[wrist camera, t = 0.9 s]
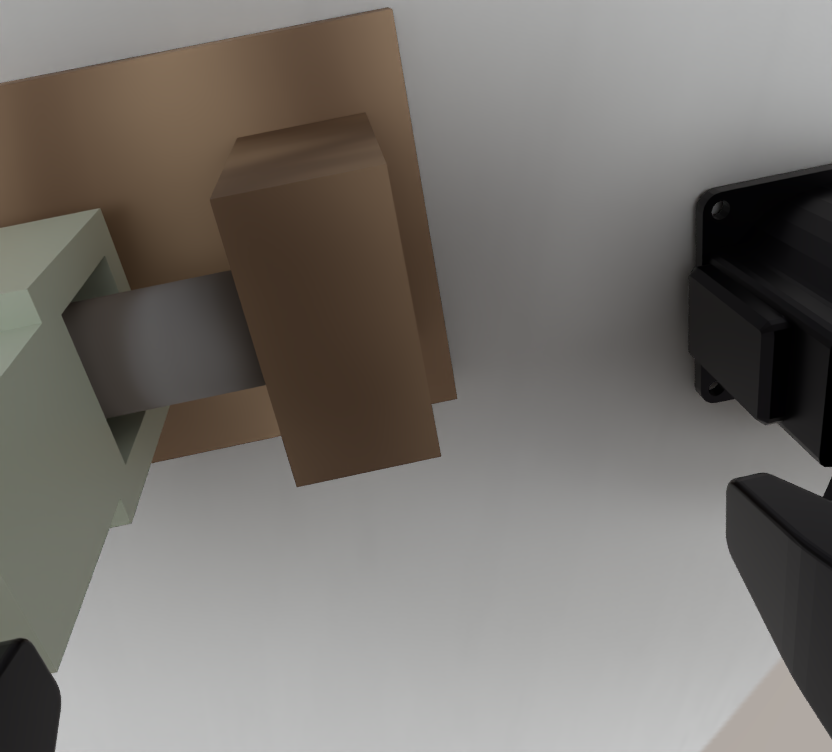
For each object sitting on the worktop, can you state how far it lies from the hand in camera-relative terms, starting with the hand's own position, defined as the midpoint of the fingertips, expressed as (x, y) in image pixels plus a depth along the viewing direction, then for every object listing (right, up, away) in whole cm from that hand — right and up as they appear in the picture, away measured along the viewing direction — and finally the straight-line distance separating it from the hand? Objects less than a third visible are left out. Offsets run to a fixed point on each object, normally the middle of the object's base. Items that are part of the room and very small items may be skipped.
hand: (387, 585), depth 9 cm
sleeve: (-7, +4, +9) cm, 12 cm away
